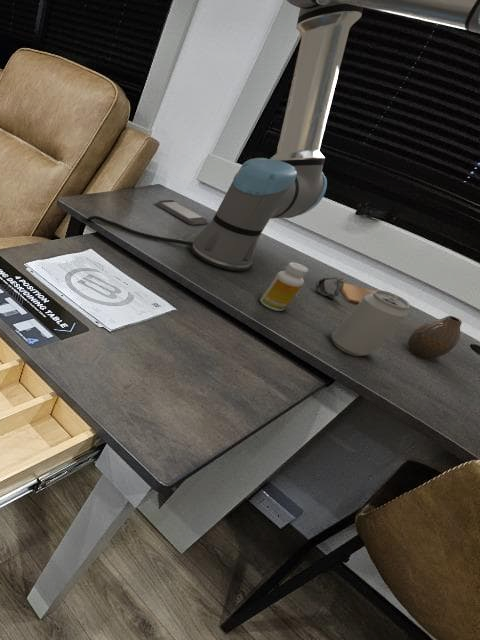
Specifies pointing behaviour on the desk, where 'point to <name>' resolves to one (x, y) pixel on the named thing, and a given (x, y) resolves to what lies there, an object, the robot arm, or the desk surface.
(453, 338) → the vase
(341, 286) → the wristwatch
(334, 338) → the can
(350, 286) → the coaster
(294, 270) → the supplement bottle
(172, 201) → the smartphone
